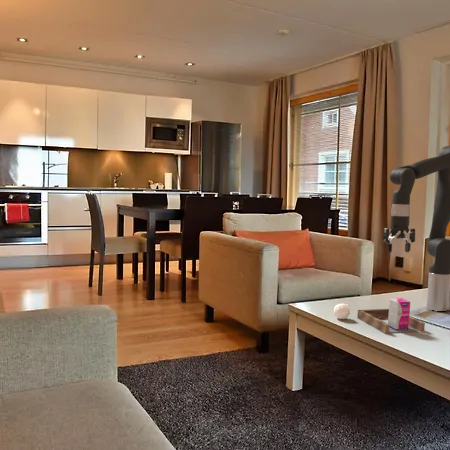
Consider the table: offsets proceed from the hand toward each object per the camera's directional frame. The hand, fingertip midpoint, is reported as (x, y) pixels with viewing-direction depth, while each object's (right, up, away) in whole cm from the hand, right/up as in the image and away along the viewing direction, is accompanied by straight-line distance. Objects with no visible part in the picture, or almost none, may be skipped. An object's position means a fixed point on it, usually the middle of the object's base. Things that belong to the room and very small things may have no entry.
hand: (398, 252), depth 204 cm
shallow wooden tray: (-8, -29, -12) cm, 32 cm away
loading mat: (-6, -30, -17) cm, 35 cm away
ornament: (-26, -28, -4) cm, 38 cm away
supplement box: (-6, -30, -17) cm, 34 cm away
